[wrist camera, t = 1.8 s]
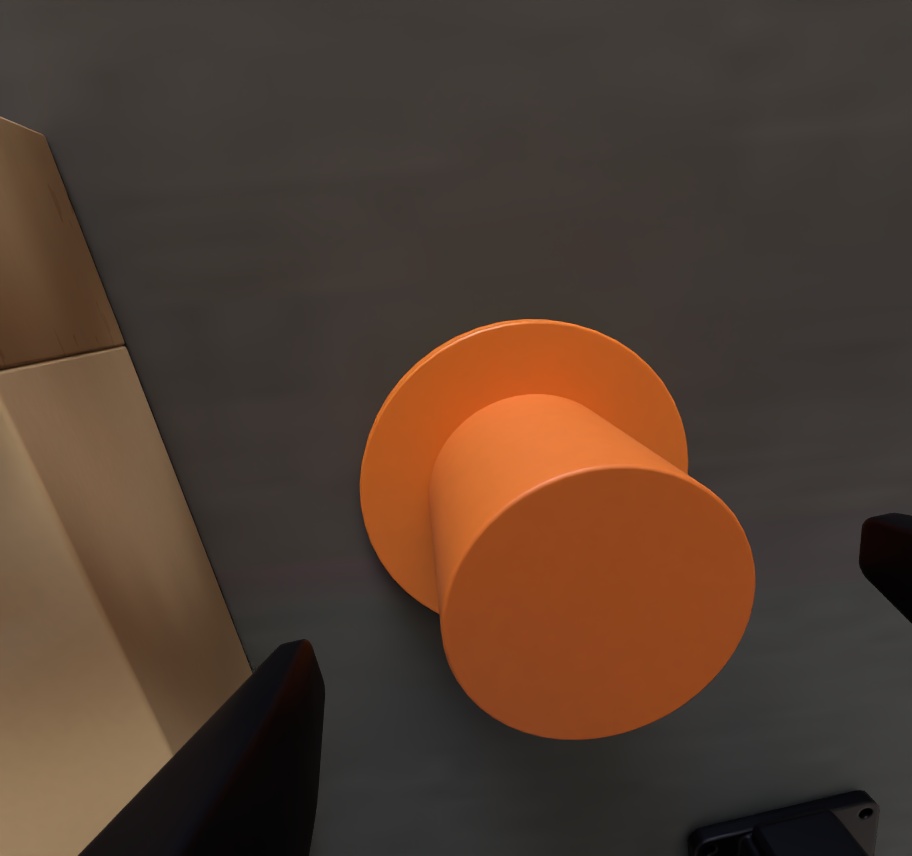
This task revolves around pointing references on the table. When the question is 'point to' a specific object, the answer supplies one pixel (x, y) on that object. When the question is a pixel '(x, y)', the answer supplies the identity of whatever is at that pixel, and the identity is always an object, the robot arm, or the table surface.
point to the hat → (556, 529)
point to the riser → (87, 542)
